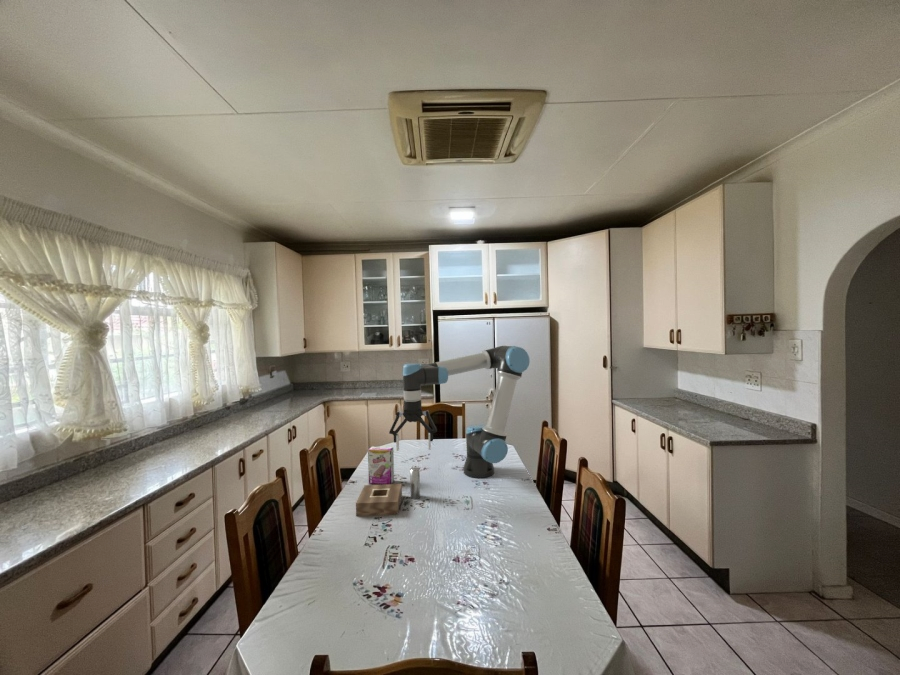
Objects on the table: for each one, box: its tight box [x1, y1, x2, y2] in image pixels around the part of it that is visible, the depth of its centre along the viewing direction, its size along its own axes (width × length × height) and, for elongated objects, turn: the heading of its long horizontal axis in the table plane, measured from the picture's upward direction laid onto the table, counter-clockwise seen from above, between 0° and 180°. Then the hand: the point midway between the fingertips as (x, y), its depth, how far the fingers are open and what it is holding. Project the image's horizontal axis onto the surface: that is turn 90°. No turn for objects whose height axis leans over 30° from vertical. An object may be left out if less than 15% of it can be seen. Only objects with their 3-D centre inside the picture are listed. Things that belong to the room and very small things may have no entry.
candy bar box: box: [367, 446, 395, 485], centre depth 167 cm, size 11×5×16 cm, turn 84°
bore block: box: [355, 483, 403, 517], centre depth 145 cm, size 16×16×5 cm
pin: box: [409, 466, 421, 500], centre depth 152 cm, size 4×4×12 cm
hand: (413, 449), depth 152 cm, fingers open, 13 cm apart
